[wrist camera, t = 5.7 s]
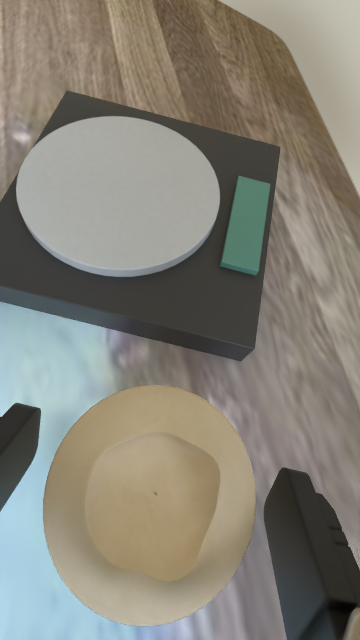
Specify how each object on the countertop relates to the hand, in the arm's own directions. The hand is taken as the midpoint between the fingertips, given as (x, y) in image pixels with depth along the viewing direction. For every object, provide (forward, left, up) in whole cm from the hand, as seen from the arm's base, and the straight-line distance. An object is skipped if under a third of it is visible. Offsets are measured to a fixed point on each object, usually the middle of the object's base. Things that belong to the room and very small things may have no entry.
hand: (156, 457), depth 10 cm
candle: (0, +1, -7) cm, 7 cm away
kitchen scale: (+4, -14, -7) cm, 16 cm away
